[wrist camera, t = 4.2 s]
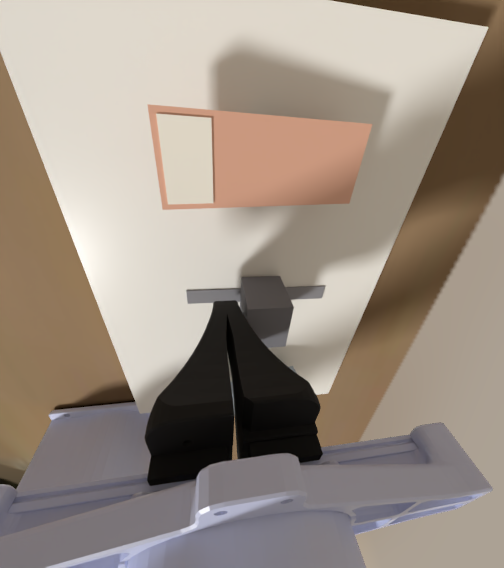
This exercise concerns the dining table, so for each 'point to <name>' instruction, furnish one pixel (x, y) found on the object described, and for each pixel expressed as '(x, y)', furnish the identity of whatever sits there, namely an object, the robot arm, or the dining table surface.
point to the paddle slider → (267, 308)
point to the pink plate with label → (253, 158)
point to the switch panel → (234, 98)
